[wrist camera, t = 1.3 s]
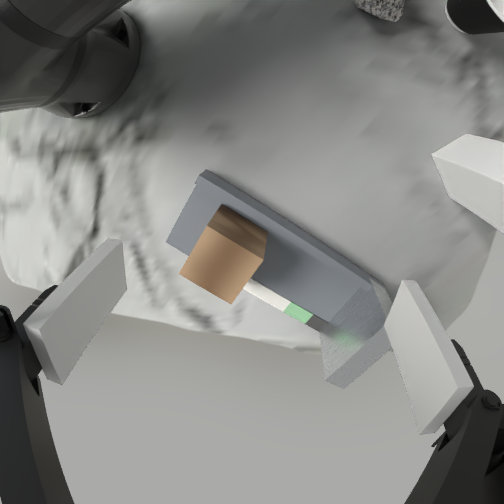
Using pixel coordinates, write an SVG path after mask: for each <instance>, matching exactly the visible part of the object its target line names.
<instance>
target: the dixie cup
mask: <svg viewBox="0 0 504 504" xmlns="http://www.w3.org/2000/svg"><path fill="white" fill-rule="evenodd" d="M445 13H446V16H447V18H448V20H449V22H450V23H451V24H452V25H453V26H454V27H455V28H456V29H457V30H459V31H460V32H463V33H468V34H484V33H497V32H504V0H448V1H447V3H446V5H445Z"/></svg>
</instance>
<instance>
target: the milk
mask: <svg viewBox="0 0 504 504" xmlns="http://www.w3.org/2000/svg"><path fill="white" fill-rule="evenodd" d="M431 155H432V158H433V160H434V162H435V164H436V167H437V169H438V171H439V174H440V176H441V179H442V181H443V184H444V186H445V189H446V191H447V194H448V196H449V197H450V198H451V199H453V200H454V201H456V202H458V203H459V204H461V205H462V206H464V207H465V208H467V209H468V210H470V211H471V212H473V213H474V214H476V215H477V216H479V217H480V218H482V219H483V220H485V221H486V222H488V223H489V224H490V225H492V226H493V227H495V228H496V229H497V230H499V231H500V232H502V233H503V234H504V142H500V141H496V140H492V139H488V138H484V137H479V136H475V135H470V134H464V135H463V136H461V137H459V138H458V139H456V140H454V141H452V142H451V143H449V144H447V145H446V146H444V147H442V148H441V149H439V150H437V151H436V152H434V153H432V154H431Z"/></svg>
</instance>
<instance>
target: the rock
mask: <svg viewBox="0 0 504 504" xmlns="http://www.w3.org/2000/svg"><path fill="white" fill-rule="evenodd" d="M405 1H406V0H354V1H353V2H354V3H355V5H356V7H357V8H360V9H362V10H363V11H367V12H369V13H370V14H372V15H375V16H376V17H377V18H379V19H383V20H389V21H392V22H397V21H398V20H400V17H401V16H402V15H403V11H404V2H405Z"/></svg>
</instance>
